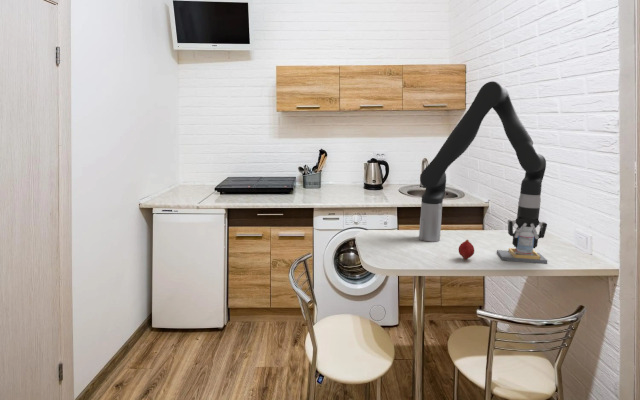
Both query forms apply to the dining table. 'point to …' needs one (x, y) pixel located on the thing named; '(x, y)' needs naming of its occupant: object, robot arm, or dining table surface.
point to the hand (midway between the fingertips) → (524, 246)
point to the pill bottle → (525, 242)
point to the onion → (466, 249)
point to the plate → (521, 256)
